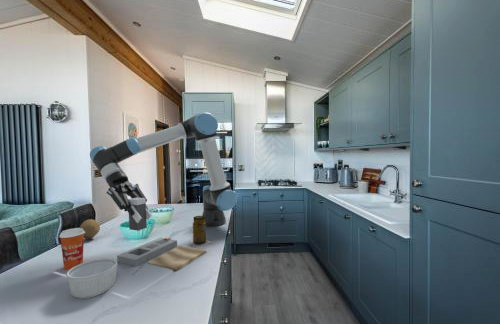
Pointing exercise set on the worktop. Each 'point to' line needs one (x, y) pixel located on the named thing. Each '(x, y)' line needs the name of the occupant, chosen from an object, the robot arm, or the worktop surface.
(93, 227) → the natural sponge
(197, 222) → the condiment
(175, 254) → the tan cloth
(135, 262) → the grey slotted holder
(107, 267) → the ramekin
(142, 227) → the charger
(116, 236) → the worktop surface
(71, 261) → the paper cup
